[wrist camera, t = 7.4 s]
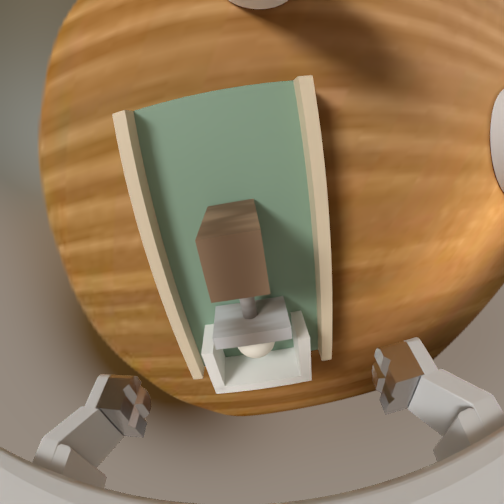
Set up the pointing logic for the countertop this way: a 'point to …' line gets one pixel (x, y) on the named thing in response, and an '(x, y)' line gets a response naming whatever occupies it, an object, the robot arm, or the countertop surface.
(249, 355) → the ball
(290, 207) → the pitch
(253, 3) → the can
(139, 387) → the robot arm
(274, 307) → the block
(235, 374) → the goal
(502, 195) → the countertop surface
